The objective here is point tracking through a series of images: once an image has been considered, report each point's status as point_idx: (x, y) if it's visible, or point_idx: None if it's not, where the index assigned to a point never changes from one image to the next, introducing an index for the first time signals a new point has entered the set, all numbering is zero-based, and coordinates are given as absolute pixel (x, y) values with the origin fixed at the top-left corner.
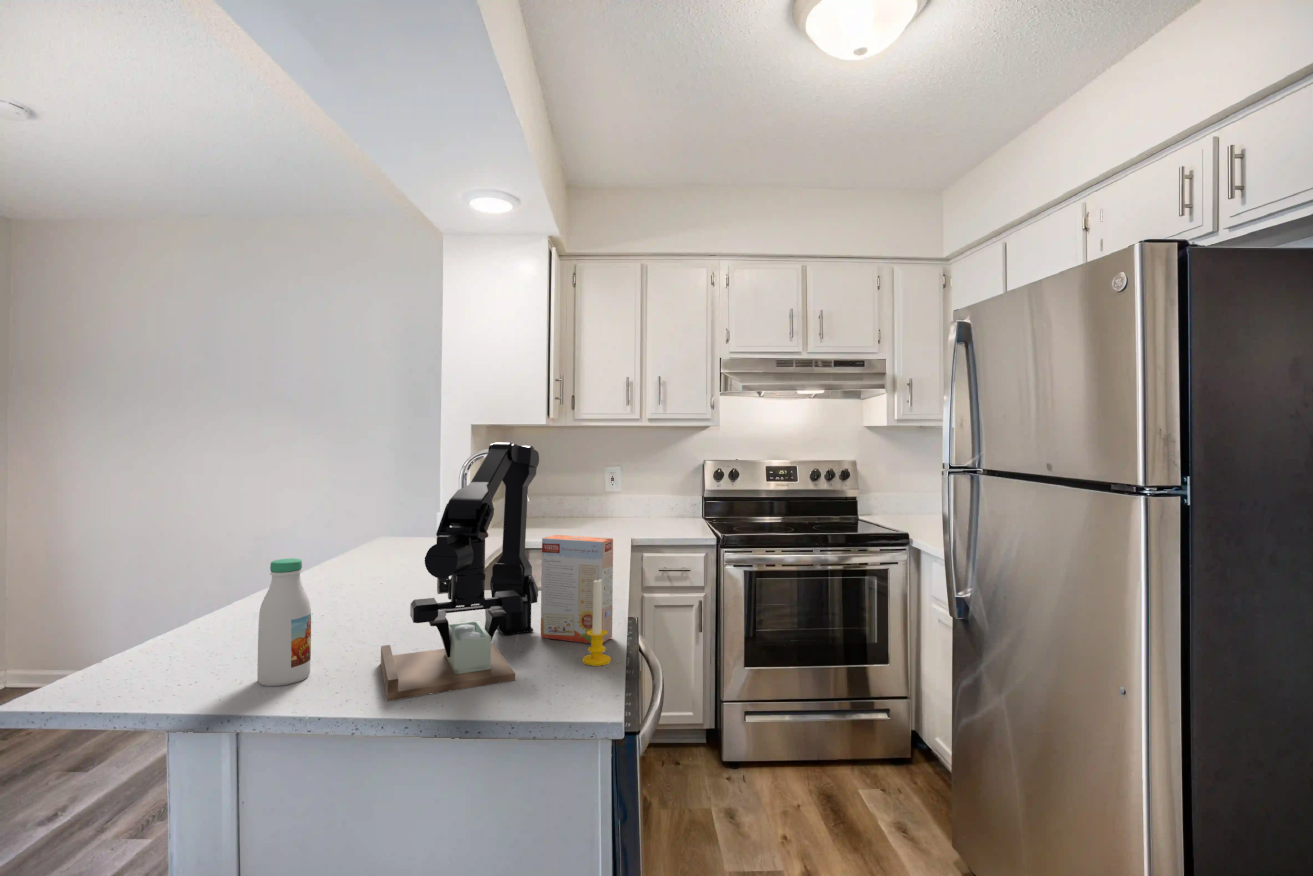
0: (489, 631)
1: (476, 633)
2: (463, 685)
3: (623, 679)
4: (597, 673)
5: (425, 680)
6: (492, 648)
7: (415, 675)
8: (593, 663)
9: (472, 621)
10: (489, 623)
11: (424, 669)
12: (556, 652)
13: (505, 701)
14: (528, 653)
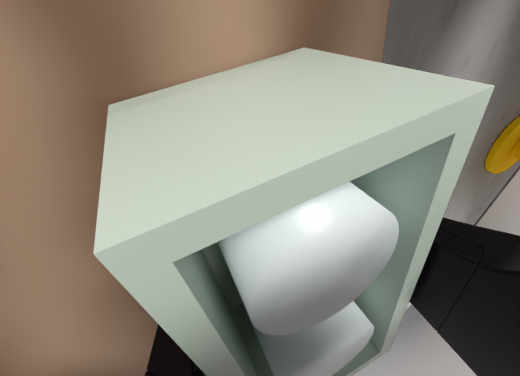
0: (415, 304)
1: (360, 335)
2: None
3: (473, 223)
4: (467, 204)
5: (133, 355)
6: (370, 31)
7: (70, 345)
8: (493, 172)
9: (440, 122)
10: (457, 337)
11: (80, 298)
12: (507, 54)
13: None
14: (452, 43)
